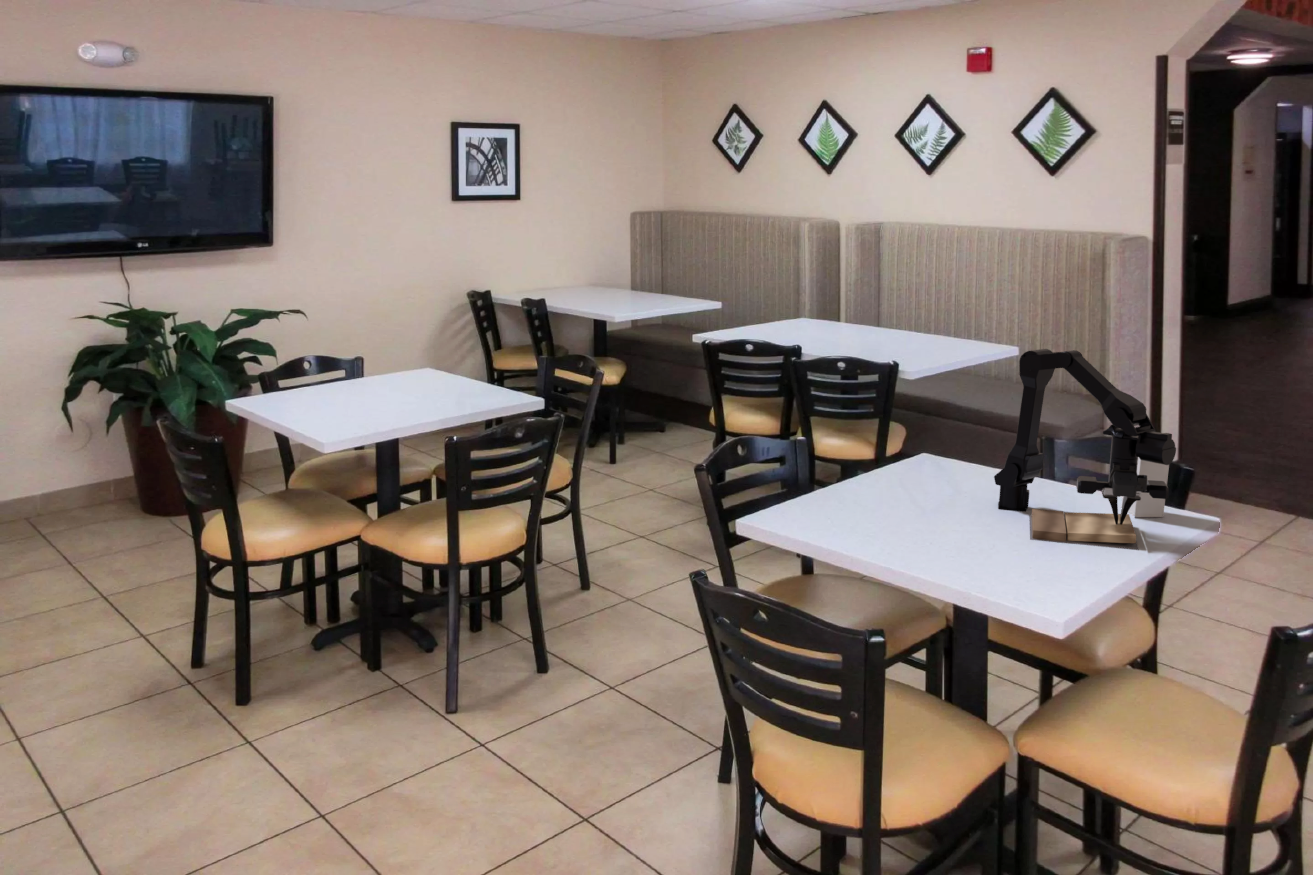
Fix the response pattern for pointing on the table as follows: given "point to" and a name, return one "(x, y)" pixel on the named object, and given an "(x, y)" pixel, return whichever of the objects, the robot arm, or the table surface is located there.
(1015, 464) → the robot arm
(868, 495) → the table surface
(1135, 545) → the underlay mat
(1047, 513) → the walnut plank
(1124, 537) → the oak plank
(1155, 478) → the milk carton
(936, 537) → the table surface
